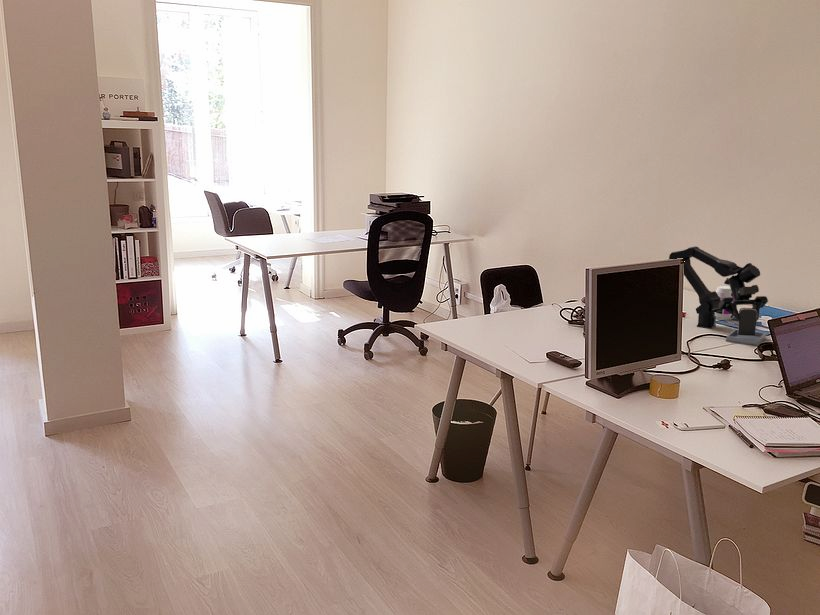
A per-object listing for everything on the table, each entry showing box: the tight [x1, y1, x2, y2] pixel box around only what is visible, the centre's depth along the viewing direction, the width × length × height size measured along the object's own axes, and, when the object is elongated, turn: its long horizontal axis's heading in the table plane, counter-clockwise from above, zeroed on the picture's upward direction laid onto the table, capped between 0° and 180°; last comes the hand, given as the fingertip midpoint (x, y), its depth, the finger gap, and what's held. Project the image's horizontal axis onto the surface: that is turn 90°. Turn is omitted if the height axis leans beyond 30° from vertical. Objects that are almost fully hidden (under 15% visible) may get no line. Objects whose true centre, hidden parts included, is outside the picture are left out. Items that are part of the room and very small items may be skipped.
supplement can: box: [715, 285, 735, 321], centre depth 322 cm, size 8×8×15 cm
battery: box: [737, 307, 758, 336], centre depth 289 cm, size 7×4×11 cm, turn 72°
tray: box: [725, 328, 767, 347], centre depth 291 cm, size 12×12×2 cm
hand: (748, 320), depth 288 cm, fingers closed on battery, 7 cm apart
